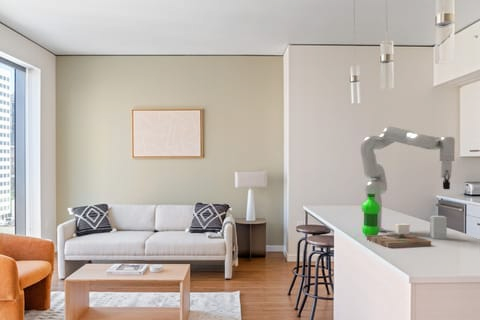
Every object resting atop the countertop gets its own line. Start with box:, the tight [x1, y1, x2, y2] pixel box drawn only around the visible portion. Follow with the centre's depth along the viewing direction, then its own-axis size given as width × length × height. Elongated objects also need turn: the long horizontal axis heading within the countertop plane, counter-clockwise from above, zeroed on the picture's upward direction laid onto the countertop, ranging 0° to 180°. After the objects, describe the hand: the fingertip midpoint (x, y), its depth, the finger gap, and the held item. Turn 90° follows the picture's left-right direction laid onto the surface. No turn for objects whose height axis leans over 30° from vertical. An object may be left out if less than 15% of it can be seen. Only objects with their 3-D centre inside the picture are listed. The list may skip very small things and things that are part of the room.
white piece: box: [386, 223, 410, 237], centre depth 227 cm, size 3×13×7 cm, turn 105°
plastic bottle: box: [361, 193, 380, 237], centre depth 241 cm, size 10×10×25 cm
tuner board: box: [366, 233, 432, 249], centre depth 225 cm, size 20×26×3 cm
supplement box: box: [429, 215, 448, 240], centre depth 239 cm, size 7×7×13 cm
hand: (446, 188), depth 234 cm, fingers open, 9 cm apart
